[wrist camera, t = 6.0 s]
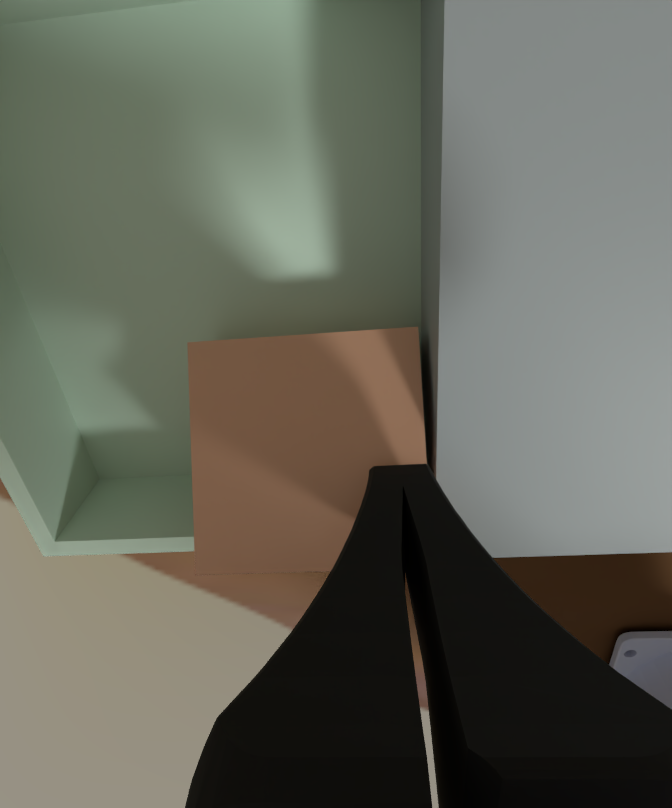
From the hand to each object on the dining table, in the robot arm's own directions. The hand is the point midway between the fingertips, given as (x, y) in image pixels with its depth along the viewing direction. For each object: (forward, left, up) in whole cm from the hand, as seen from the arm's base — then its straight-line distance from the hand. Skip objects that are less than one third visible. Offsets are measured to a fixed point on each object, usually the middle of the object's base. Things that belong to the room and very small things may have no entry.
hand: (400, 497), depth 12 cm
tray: (+4, +5, -5) cm, 8 cm away
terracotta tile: (0, +2, -3) cm, 4 cm away
